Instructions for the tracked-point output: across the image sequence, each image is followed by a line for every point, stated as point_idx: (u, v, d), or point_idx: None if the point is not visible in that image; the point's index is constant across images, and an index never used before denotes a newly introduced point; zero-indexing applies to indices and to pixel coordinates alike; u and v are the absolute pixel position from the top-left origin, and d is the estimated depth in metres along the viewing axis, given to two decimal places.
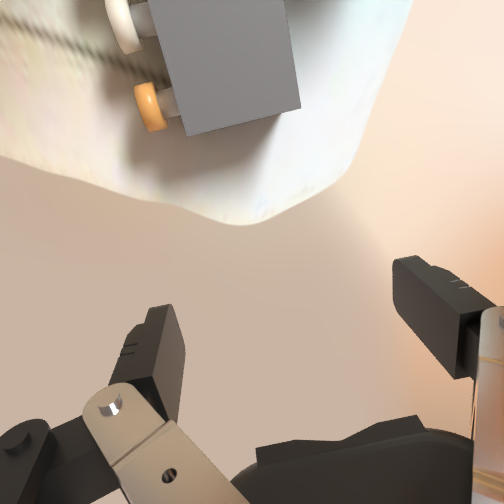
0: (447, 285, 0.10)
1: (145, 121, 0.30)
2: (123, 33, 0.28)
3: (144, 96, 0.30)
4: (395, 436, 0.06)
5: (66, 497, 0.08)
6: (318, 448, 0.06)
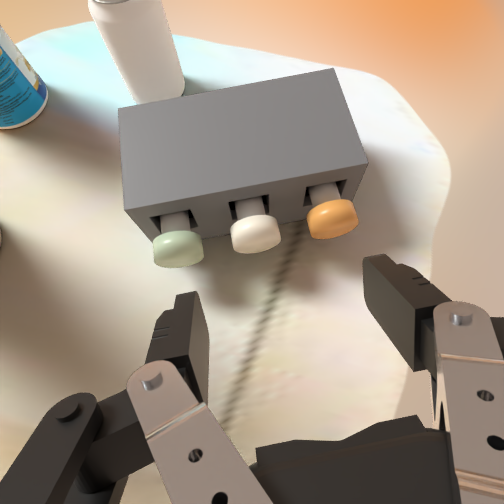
0: (408, 282, 0.10)
1: (350, 215, 0.27)
2: (266, 225, 0.27)
3: (325, 212, 0.27)
4: (395, 436, 0.06)
5: (113, 466, 0.08)
6: (318, 448, 0.06)
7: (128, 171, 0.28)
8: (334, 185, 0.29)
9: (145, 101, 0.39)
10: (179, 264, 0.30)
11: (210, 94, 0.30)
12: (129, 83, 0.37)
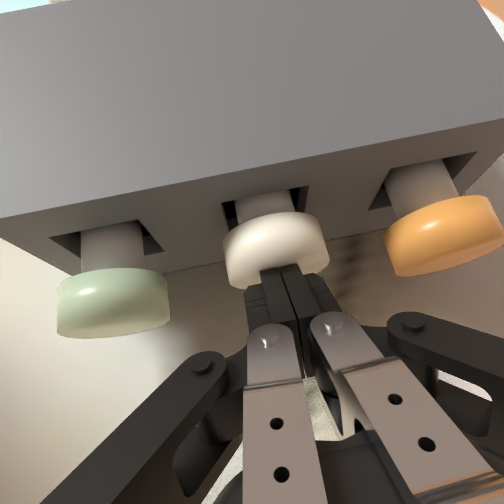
0: (304, 292, 0.11)
1: (499, 231, 0.12)
2: (302, 235, 0.12)
3: (440, 224, 0.12)
4: None
5: (239, 418, 0.09)
6: (318, 447, 0.06)
7: None
8: (443, 167, 0.14)
9: None
10: (122, 332, 0.14)
11: None
12: (53, 1, 0.22)
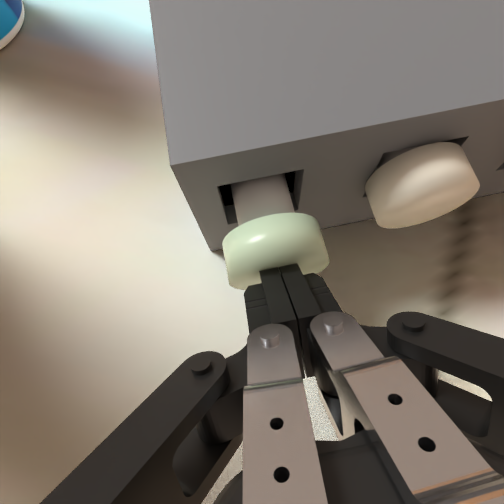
0: (304, 292, 0.11)
1: None
2: (462, 162, 0.13)
3: None
4: None
5: (239, 419, 0.09)
6: (318, 448, 0.06)
7: (174, 86, 0.13)
8: None
9: None
10: None
11: None
12: None
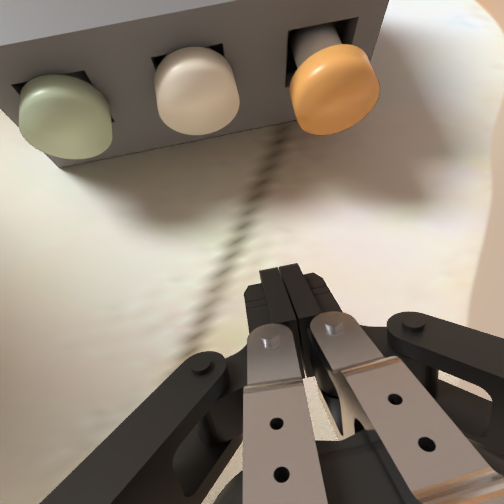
0: (304, 292, 0.11)
1: (366, 69, 0.15)
2: (210, 62, 0.16)
3: (321, 65, 0.15)
4: None
5: (239, 419, 0.09)
6: (318, 447, 0.06)
7: None
8: (335, 35, 0.17)
9: None
10: (75, 150, 0.18)
11: None
12: None
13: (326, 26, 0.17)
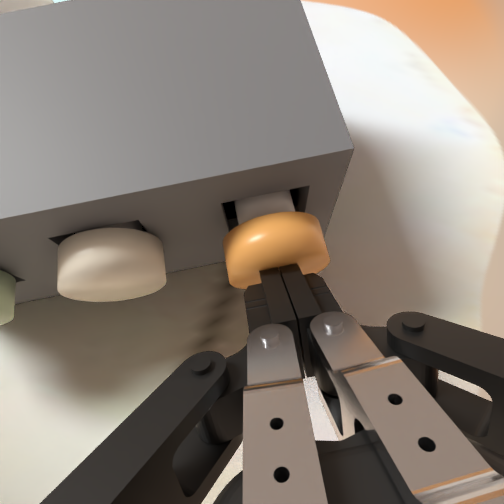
0: (304, 292, 0.11)
1: (308, 247, 0.12)
2: (118, 251, 0.12)
3: (252, 241, 0.12)
4: None
5: (239, 418, 0.09)
6: (318, 448, 0.06)
7: None
8: None
9: None
10: None
11: (31, 13, 0.15)
12: None
13: None
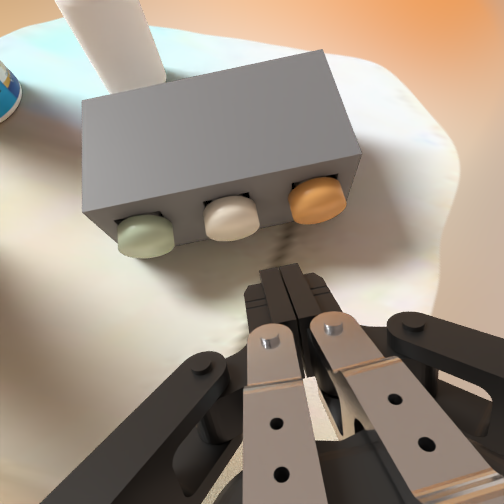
0: (304, 292, 0.11)
1: (335, 194, 0.24)
2: (241, 207, 0.24)
3: (307, 191, 0.24)
4: None
5: (239, 418, 0.09)
6: (318, 448, 0.06)
7: (89, 169, 0.25)
8: None
9: None
10: (148, 254, 0.27)
11: (184, 82, 0.27)
12: (102, 76, 0.34)
13: None
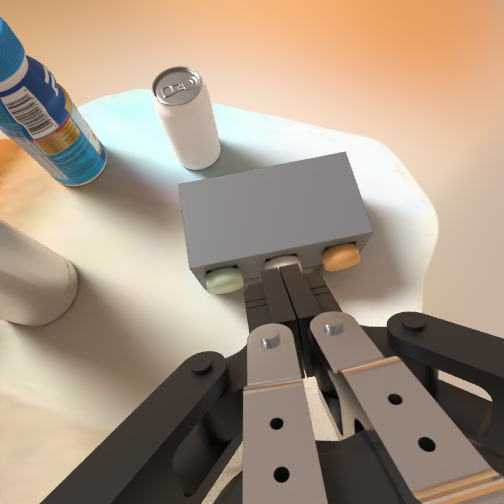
0: (304, 292, 0.11)
1: (355, 256, 0.37)
2: (292, 263, 0.37)
3: (336, 253, 0.37)
4: None
5: (239, 418, 0.09)
6: (318, 448, 0.06)
7: (190, 236, 0.36)
8: None
9: (189, 164, 0.47)
10: (224, 291, 0.39)
11: (250, 173, 0.39)
12: (178, 152, 0.46)
13: None
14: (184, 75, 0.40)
